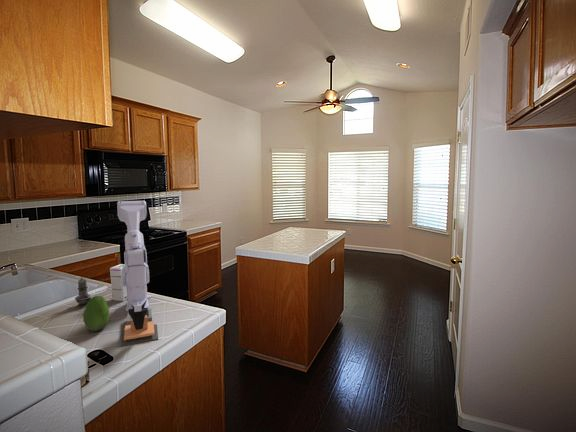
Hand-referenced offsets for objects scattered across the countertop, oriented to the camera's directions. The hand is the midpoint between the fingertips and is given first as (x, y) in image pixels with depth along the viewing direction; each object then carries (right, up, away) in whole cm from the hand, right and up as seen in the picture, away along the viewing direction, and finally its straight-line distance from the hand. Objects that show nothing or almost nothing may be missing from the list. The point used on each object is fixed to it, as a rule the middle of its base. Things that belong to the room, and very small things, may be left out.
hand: (139, 323), depth 108 cm
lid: (0, -3, 0) cm, 3 cm away
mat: (0, -4, 0) cm, 4 cm away
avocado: (-17, -4, +4) cm, 18 cm away
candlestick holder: (-34, -1, +24) cm, 42 cm away
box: (-4, -3, +10) cm, 11 cm away
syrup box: (-22, 0, +32) cm, 39 cm away
